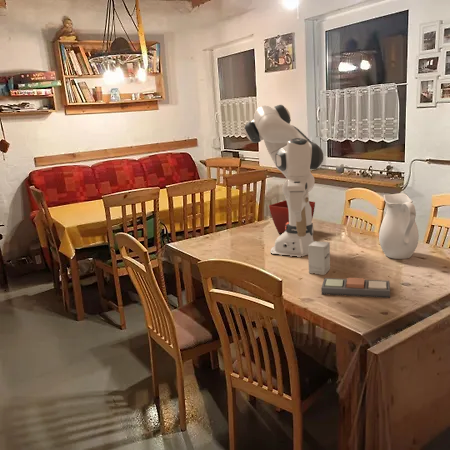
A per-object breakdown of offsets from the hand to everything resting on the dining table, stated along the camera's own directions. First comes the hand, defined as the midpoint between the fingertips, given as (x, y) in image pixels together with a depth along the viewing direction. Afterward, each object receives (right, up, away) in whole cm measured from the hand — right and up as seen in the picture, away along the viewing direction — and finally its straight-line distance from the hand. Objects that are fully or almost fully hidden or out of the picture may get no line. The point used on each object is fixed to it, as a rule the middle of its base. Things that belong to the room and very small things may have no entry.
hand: (300, 218), depth 177 cm
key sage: (+14, -27, +4) cm, 31 cm away
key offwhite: (+29, -27, -1) cm, 40 cm away
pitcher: (+51, -18, +33) cm, 63 cm away
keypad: (+21, -28, +1) cm, 35 cm away
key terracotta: (+21, -26, +1) cm, 34 cm away
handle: (+1, -7, +4) cm, 8 cm away
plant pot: (+10, -7, +87) cm, 88 cm away
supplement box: (+12, -23, +24) cm, 36 cm away
